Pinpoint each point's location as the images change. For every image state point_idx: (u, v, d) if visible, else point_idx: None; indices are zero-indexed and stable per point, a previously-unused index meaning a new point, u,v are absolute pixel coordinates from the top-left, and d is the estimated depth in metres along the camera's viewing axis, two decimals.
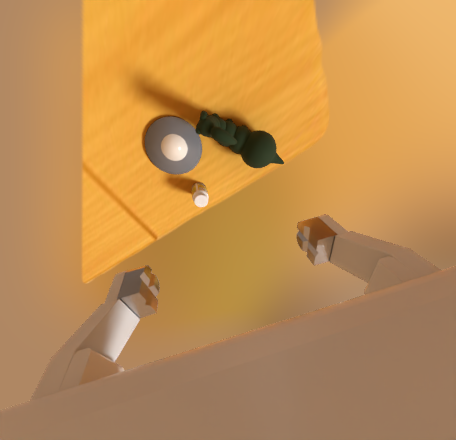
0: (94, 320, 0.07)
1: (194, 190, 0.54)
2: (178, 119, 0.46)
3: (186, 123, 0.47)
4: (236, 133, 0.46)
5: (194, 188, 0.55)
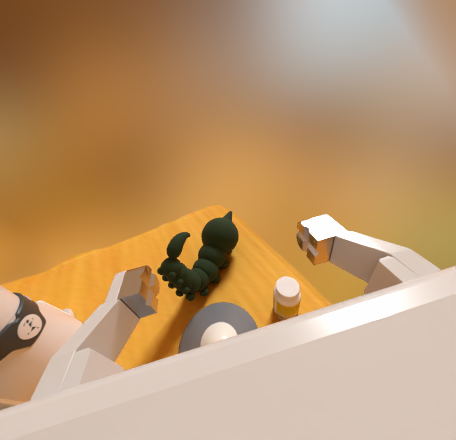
0: (94, 320, 0.07)
1: (278, 306, 0.33)
2: (185, 332, 0.35)
3: (191, 321, 0.37)
4: (200, 255, 0.43)
5: (278, 309, 0.34)
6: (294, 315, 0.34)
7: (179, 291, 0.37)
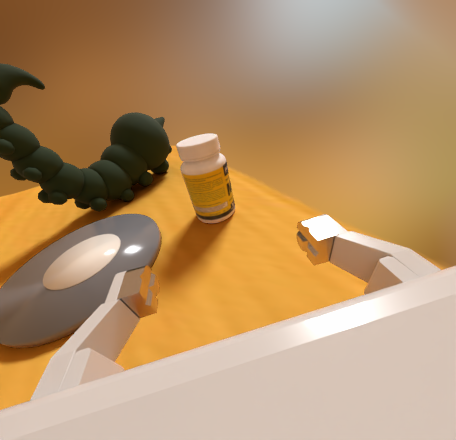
0: (94, 320, 0.07)
1: (188, 186, 0.18)
2: (41, 252, 0.21)
3: (60, 239, 0.22)
4: None
5: (191, 197, 0.19)
6: (221, 207, 0.19)
7: (42, 192, 0.22)
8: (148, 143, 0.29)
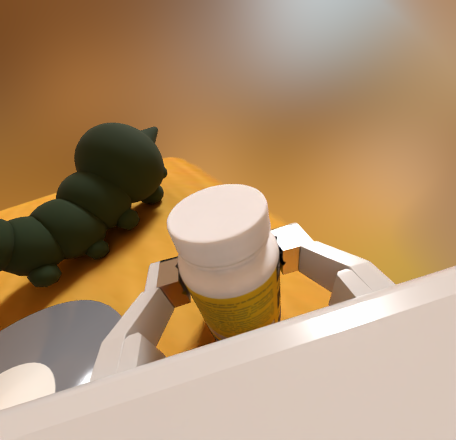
0: (138, 307, 0.07)
1: (195, 301, 0.08)
2: None
3: None
4: None
5: (201, 312, 0.09)
6: None
7: None
8: (131, 170, 0.19)
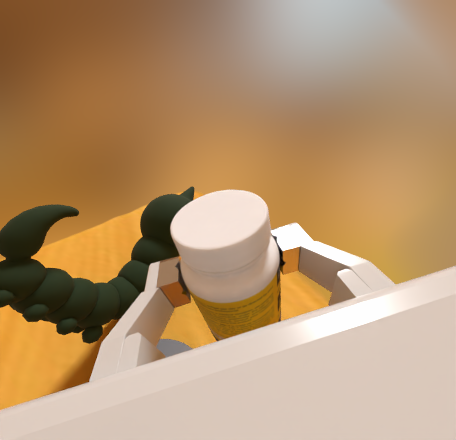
0: (138, 307, 0.07)
1: (197, 304, 0.08)
2: None
3: None
4: (132, 255, 0.25)
5: (203, 315, 0.09)
6: None
7: None
8: None
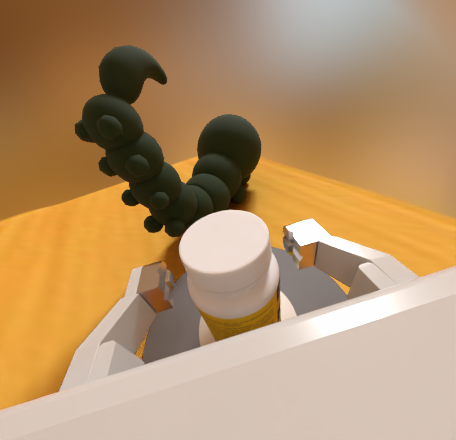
0: (116, 314, 0.07)
1: (202, 316, 0.09)
2: None
3: (178, 283, 0.17)
4: (196, 171, 0.23)
5: (207, 325, 0.10)
6: None
7: (151, 219, 0.17)
8: (250, 152, 0.24)
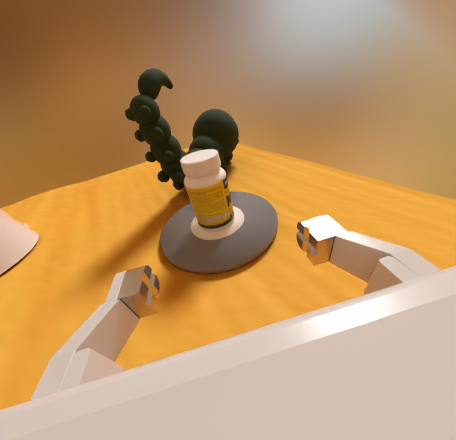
0: (94, 320, 0.07)
1: (191, 198, 0.20)
2: (170, 219, 0.26)
3: (179, 210, 0.27)
4: (191, 147, 0.33)
5: (193, 207, 0.20)
6: (221, 217, 0.20)
7: (162, 172, 0.28)
8: (229, 135, 0.34)
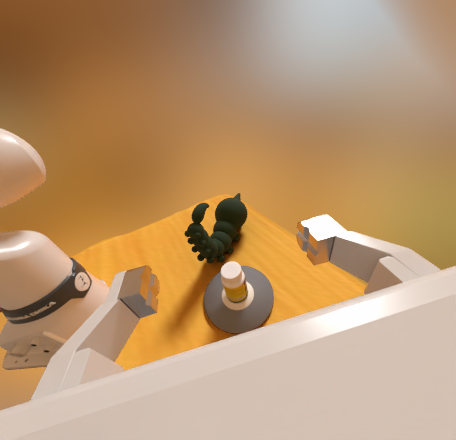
0: (94, 320, 0.07)
1: (225, 289, 0.35)
2: (207, 288, 0.42)
3: (212, 281, 0.43)
4: (216, 229, 0.49)
5: (226, 292, 0.36)
6: (241, 298, 0.36)
7: (200, 256, 0.43)
8: (241, 219, 0.50)
